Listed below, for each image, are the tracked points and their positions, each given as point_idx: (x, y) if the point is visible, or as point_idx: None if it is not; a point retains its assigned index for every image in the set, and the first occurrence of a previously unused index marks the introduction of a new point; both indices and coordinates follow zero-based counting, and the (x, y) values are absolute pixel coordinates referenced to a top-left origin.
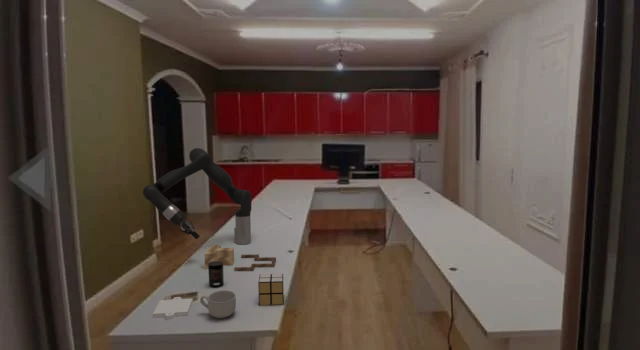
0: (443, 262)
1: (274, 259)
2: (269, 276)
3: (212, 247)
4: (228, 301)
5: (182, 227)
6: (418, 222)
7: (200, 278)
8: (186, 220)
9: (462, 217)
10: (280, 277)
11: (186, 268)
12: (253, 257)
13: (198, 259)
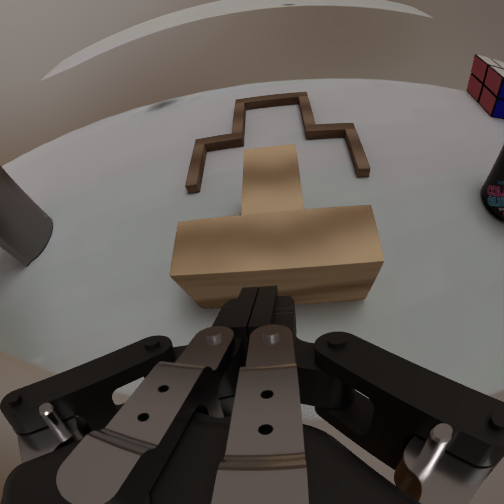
0: (264, 7)
1: (258, 97)
2: (501, 69)
3: (224, 254)
4: None
5: (499, 461)
6: (89, 56)
7: (473, 275)
8: (11, 479)
9: (96, 43)
10: (491, 60)
11: None
12: (205, 155)
13: None
